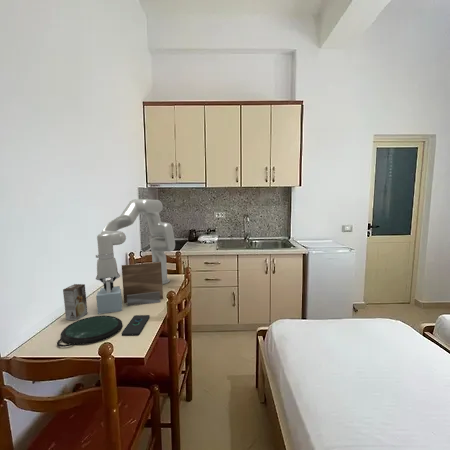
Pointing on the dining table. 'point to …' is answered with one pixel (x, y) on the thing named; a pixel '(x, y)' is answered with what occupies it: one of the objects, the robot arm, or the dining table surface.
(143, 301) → the wall board
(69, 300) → the coffee box
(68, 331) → the dark green flat disc
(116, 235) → the robot arm
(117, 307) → the block with top knob
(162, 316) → the dining table surface
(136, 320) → the smart home device
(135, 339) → the dining table surface
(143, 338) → the dining table surface
